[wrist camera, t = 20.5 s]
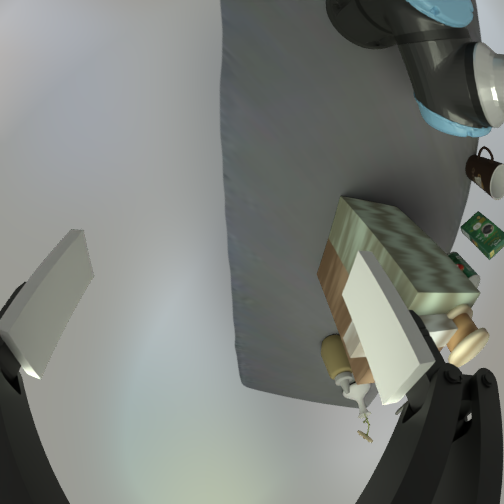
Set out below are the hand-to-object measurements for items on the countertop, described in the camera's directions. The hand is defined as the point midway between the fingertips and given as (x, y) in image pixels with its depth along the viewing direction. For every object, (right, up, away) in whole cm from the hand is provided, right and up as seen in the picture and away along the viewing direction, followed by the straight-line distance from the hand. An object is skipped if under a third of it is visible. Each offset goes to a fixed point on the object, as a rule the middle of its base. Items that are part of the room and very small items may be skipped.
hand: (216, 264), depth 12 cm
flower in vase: (+42, -52, +81) cm, 105 cm away
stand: (+24, +3, +45) cm, 51 cm away
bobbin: (+23, -9, +18) cm, 31 cm away
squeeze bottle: (+25, -25, +63) cm, 72 cm away
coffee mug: (+55, +22, +35) cm, 69 cm away
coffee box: (+60, +9, +44) cm, 75 cm away
